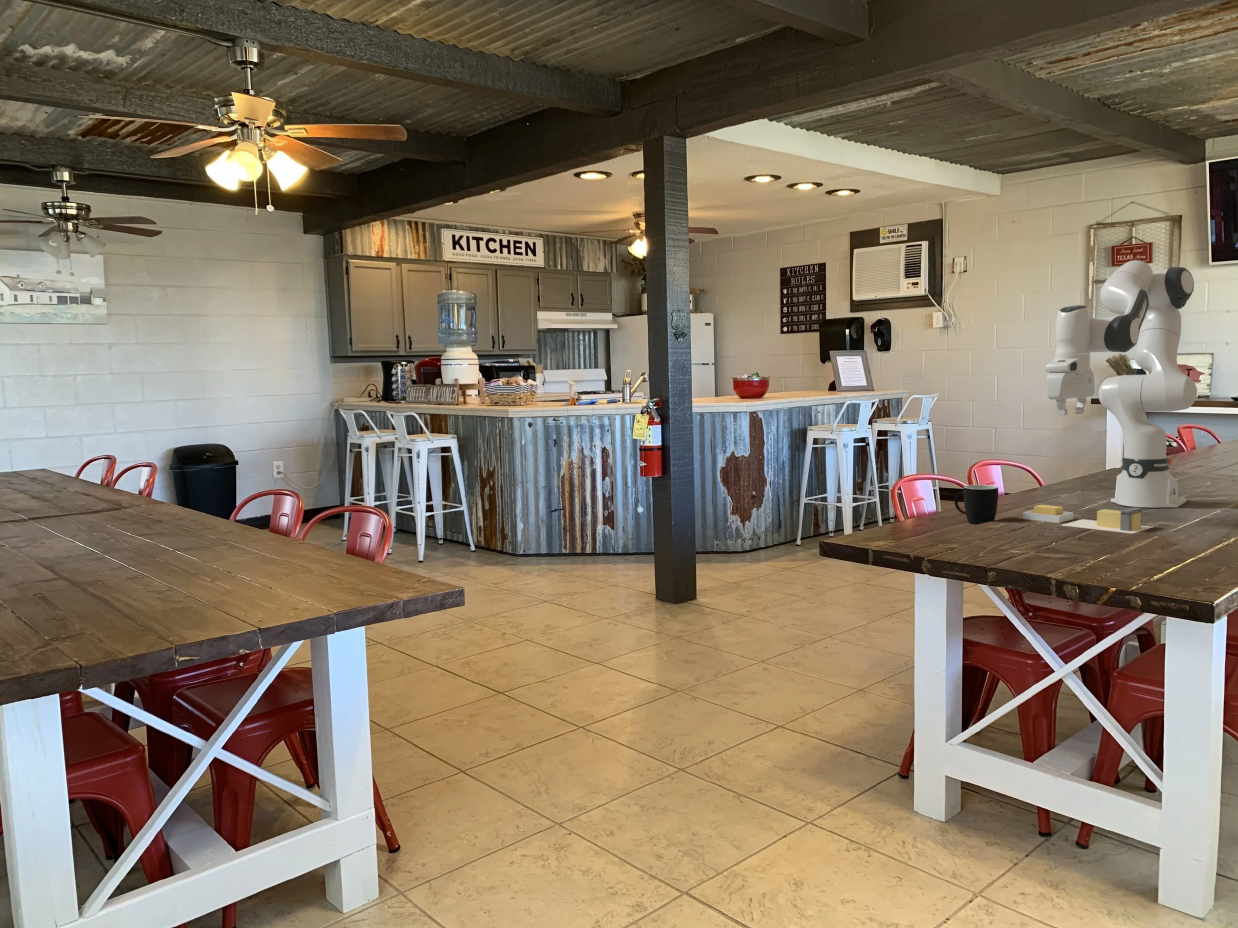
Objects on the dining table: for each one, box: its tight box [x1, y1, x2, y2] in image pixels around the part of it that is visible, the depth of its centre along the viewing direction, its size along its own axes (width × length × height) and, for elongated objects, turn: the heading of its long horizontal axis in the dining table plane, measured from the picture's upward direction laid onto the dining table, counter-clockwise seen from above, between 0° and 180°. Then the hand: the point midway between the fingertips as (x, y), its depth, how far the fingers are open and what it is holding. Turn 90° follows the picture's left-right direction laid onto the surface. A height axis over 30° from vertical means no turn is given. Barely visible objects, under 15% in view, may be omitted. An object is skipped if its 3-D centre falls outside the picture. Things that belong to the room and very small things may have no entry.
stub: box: [1033, 504, 1064, 516], centre depth 251 cm, size 4×6×4 cm, turn 38°
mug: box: [954, 484, 999, 525], centre depth 256 cm, size 12×9×10 cm
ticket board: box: [1061, 506, 1154, 534], centre depth 237 cm, size 12×18×6 cm, turn 38°
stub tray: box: [1022, 509, 1074, 524], centre depth 251 cm, size 8×10×3 cm
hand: (1071, 414), depth 255 cm, fingers open, 8 cm apart
